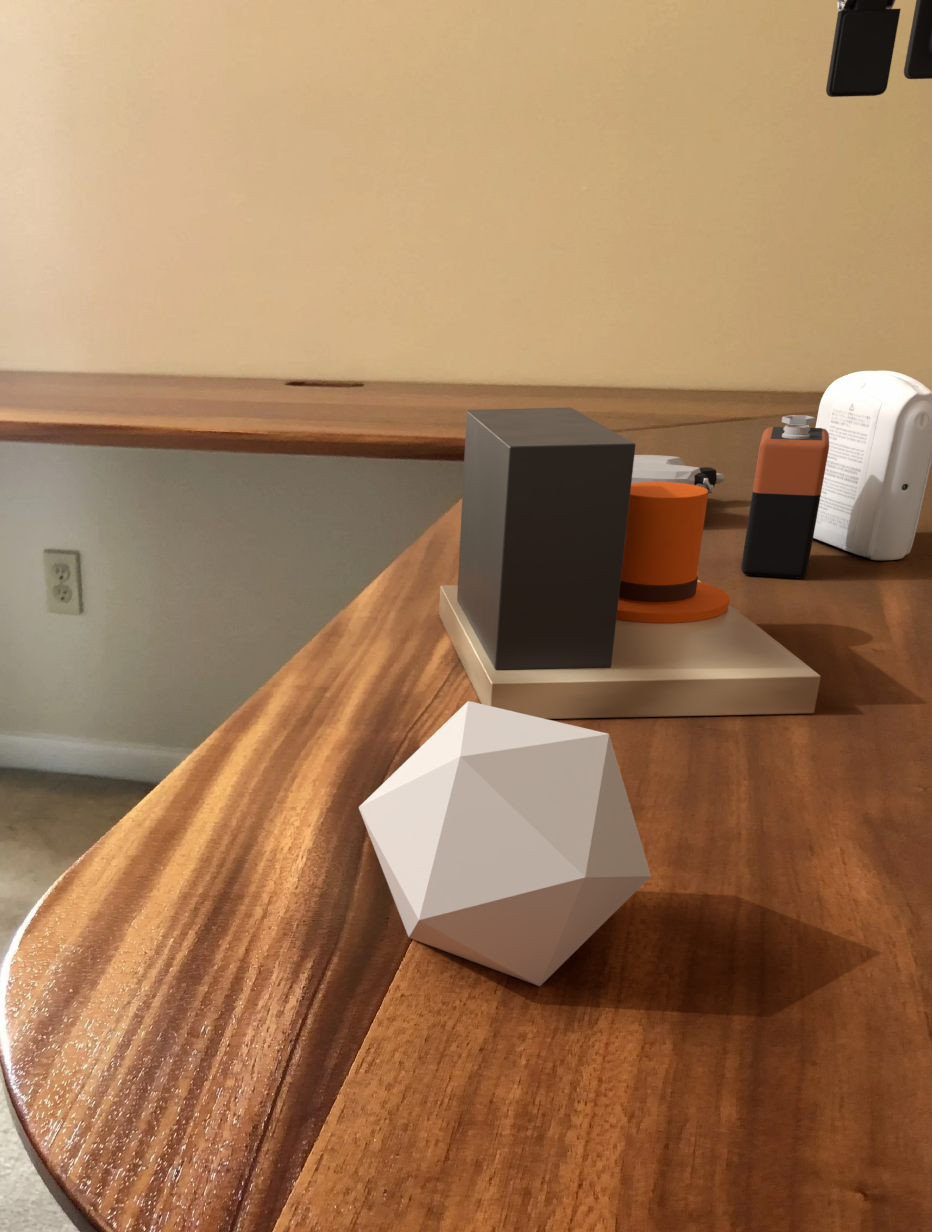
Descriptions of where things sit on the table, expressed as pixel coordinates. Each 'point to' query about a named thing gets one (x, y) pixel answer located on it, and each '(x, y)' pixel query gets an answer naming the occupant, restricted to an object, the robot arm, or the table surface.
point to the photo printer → (874, 463)
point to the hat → (666, 557)
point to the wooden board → (648, 672)
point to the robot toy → (673, 472)
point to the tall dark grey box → (543, 536)
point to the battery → (785, 499)
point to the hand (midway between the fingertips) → (893, 86)
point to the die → (507, 839)
